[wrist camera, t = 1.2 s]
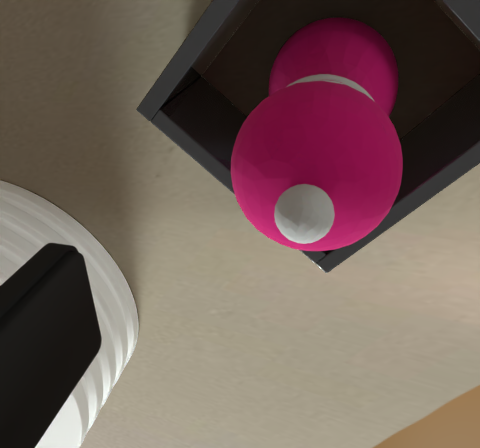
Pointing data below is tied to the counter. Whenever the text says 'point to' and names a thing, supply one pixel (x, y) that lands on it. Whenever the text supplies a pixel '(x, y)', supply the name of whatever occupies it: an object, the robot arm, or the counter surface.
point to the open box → (231, 119)
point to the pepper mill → (322, 139)
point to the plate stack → (104, 295)
